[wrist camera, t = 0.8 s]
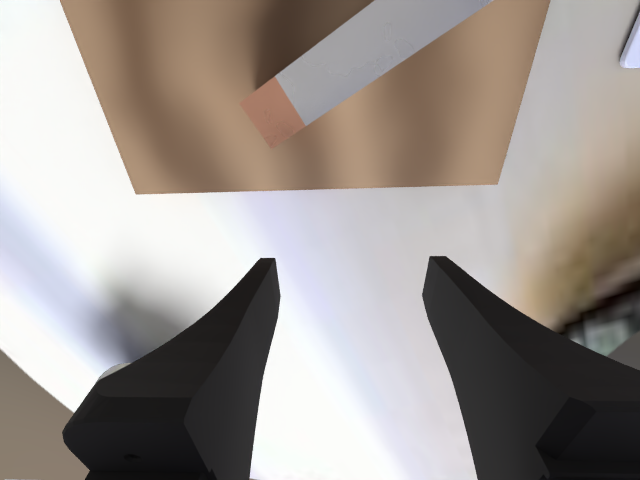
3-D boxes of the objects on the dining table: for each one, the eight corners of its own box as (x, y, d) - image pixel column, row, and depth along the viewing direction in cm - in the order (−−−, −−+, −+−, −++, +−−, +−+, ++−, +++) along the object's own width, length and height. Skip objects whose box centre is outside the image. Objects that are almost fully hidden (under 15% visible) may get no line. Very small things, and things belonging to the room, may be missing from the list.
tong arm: (477, -75, 12) (516, -108, 10) (494, -11, 13) (532, -26, 11) (253, 95, 16) (239, 103, 13) (280, 135, 17) (271, 149, 14)
